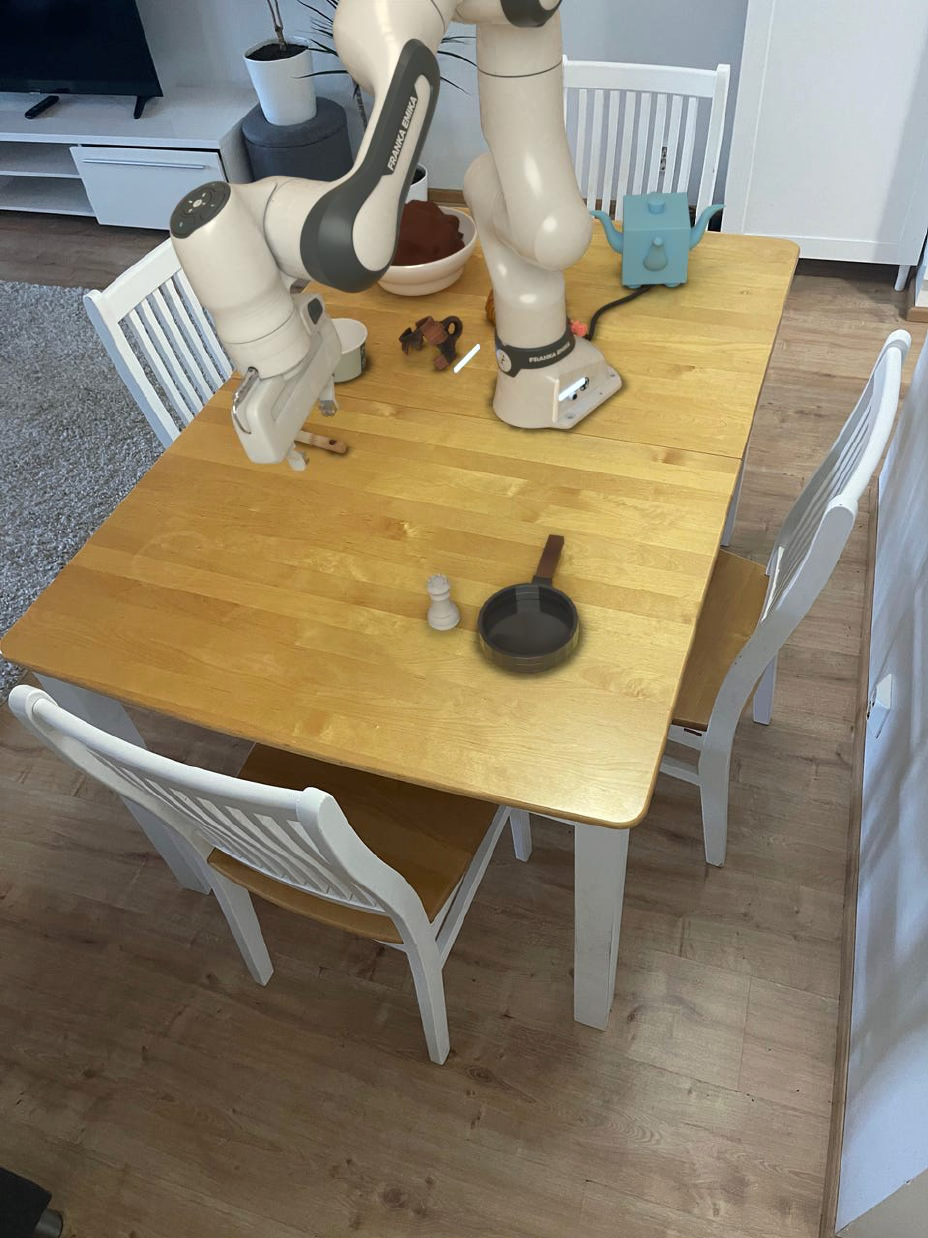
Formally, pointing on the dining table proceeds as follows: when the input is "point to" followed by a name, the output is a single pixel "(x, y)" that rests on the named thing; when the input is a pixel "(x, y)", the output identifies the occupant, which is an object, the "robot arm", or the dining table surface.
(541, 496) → the dining table surface
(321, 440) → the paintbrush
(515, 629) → the pan
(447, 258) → the white bowl
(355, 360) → the food container
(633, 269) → the teakettle
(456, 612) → the rook chess piece
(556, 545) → the pan handle
